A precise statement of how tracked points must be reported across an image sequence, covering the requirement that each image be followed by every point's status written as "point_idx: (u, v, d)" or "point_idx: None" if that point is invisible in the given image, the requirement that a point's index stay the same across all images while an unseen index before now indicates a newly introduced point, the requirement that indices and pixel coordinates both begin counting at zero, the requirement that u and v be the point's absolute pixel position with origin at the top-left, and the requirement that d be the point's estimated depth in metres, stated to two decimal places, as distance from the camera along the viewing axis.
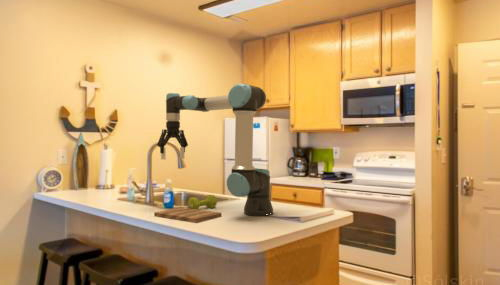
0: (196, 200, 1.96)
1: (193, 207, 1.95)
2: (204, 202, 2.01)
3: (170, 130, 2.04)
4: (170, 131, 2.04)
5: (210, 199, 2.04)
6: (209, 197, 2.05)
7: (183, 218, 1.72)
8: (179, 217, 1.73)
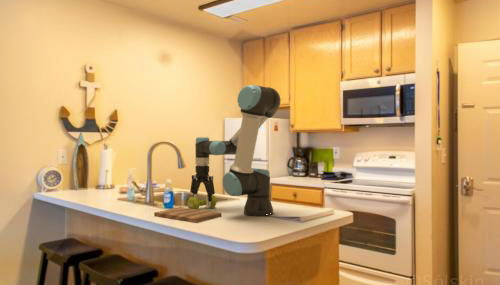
0: (196, 200, 1.96)
1: (193, 207, 1.95)
2: (204, 202, 2.02)
3: (197, 174, 2.03)
4: (197, 175, 2.03)
5: None
6: None
7: (183, 218, 1.72)
8: (179, 217, 1.73)
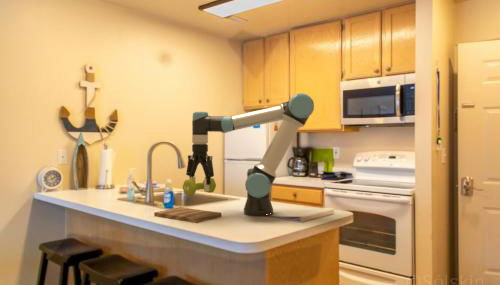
0: (192, 182, 1.71)
1: (189, 190, 1.71)
2: (201, 185, 1.77)
3: (194, 154, 1.79)
4: (194, 155, 1.79)
5: None
6: None
7: (183, 218, 1.72)
8: (179, 217, 1.73)
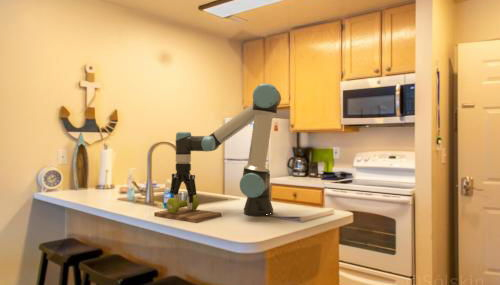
0: (175, 201, 1.77)
1: (172, 209, 1.77)
2: (185, 203, 1.83)
3: (177, 173, 1.85)
4: (177, 174, 1.85)
5: None
6: None
7: (183, 218, 1.72)
8: (179, 217, 1.73)
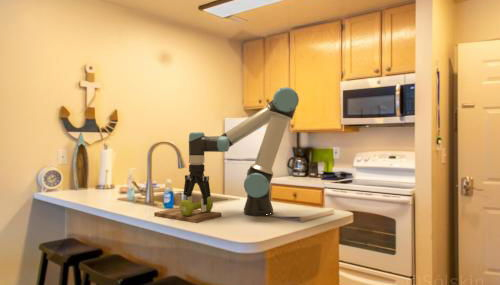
0: (189, 203, 1.73)
1: (186, 211, 1.72)
2: (198, 205, 1.79)
3: (190, 174, 1.80)
4: (191, 175, 1.80)
5: None
6: None
7: (183, 218, 1.72)
8: (179, 217, 1.73)
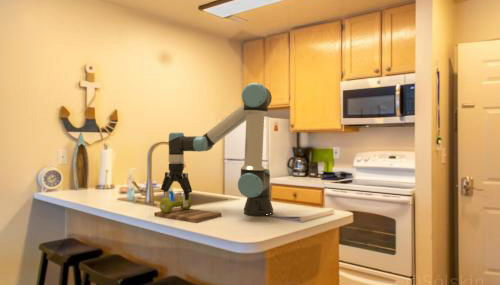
0: (168, 201, 1.80)
1: (165, 208, 1.79)
2: (178, 203, 1.86)
3: (170, 173, 1.88)
4: (170, 174, 1.88)
5: None
6: None
7: (183, 218, 1.72)
8: (179, 217, 1.73)
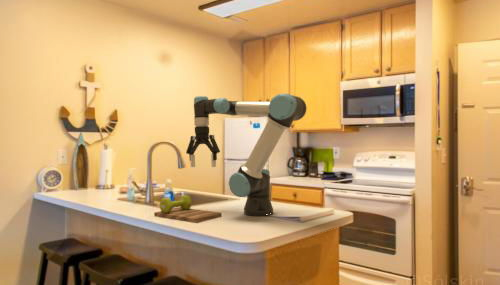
0: (168, 201, 1.80)
1: (165, 208, 1.79)
2: (178, 203, 1.86)
3: (196, 136, 1.93)
4: (196, 137, 1.93)
5: (185, 200, 1.89)
6: (184, 197, 1.90)
7: (183, 218, 1.72)
8: (179, 217, 1.73)
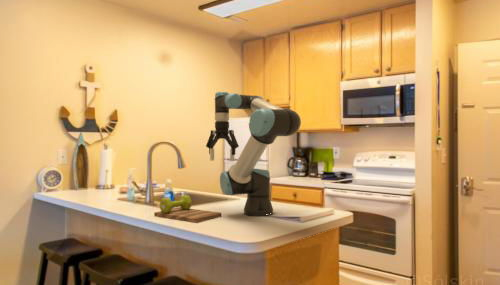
0: (168, 201, 1.80)
1: (165, 208, 1.79)
2: (178, 203, 1.86)
3: (216, 131, 1.98)
4: (216, 132, 1.98)
5: (185, 200, 1.89)
6: (184, 197, 1.90)
7: (183, 218, 1.72)
8: (179, 217, 1.73)
